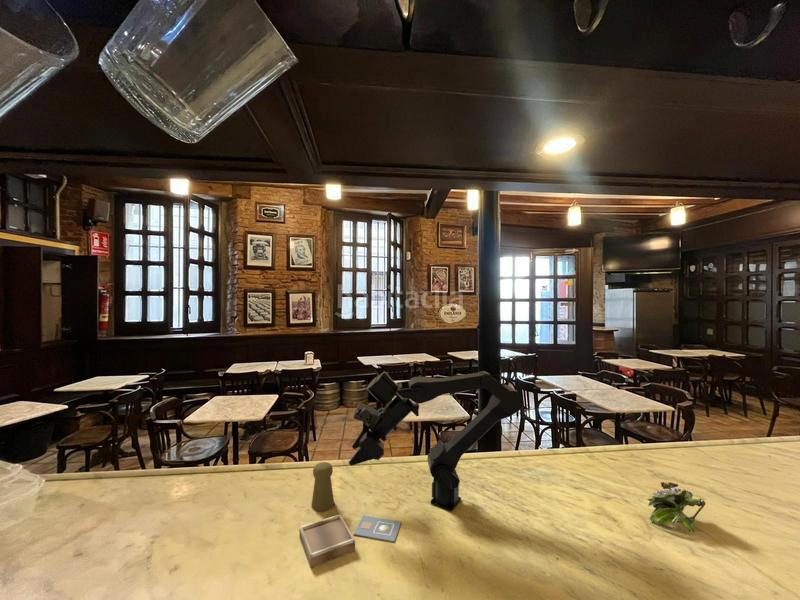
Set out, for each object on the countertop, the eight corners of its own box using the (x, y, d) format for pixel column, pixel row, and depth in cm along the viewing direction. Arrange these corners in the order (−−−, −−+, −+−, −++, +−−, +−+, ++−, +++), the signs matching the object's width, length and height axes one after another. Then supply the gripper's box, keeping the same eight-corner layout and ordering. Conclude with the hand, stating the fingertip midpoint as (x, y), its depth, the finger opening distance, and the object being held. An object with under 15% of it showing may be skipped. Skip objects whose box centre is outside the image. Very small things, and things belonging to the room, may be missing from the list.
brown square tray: (340, 524, 86) (340, 513, 86) (355, 550, 78) (355, 539, 78) (299, 537, 82) (299, 526, 82) (310, 567, 73) (310, 555, 73)
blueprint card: (401, 522, 87) (401, 521, 87) (394, 542, 80) (394, 540, 80) (363, 516, 89) (363, 515, 89) (353, 535, 83) (353, 533, 83)
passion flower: (667, 534, 91) (687, 493, 93) (705, 558, 80) (727, 511, 82) (630, 509, 92) (651, 468, 94) (664, 529, 81) (686, 483, 83)
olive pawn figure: (328, 513, 91) (328, 471, 90) (307, 510, 92) (307, 469, 91) (337, 499, 97) (337, 460, 96) (317, 496, 98) (317, 458, 97)
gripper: (372, 384, 103) (335, 421, 103) (370, 405, 84) (324, 451, 84) (399, 410, 104) (361, 447, 104) (402, 437, 85) (357, 482, 85)
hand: (351, 455), depth 94 cm, fingers open, 9 cm apart
